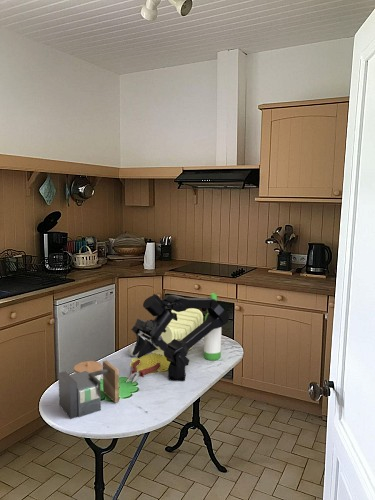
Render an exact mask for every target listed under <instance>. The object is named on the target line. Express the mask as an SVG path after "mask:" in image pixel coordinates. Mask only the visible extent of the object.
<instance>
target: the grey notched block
mask: <svg viewBox="0 0 375 500" xmlns="http://www.w3.org/2000/svg"><path fill="white" fill-rule="evenodd" d="M100 390H101V388H100ZM101 391H102V390H101ZM101 398H102V397H101V396H100V397H99V396H98V384H97V383H96V382H95V381H94V380H93V379H92V378H91V377H89V372H87V371H83V372H79V373H75V374H74V373H72V374H69V373H68V372H67V371H61V372H58V400H59V401H58V402H59V403H58V404H59V406H60V408H61V407H62V408H63V409H62V408H61V409H62V410H63V411H64V413H65V414H66V413H67V414H66V415H67V416H68V418H69V419H70V420H72V419H74V418H82V417H84V416H87V415H91V414H93V413H97V412H100V411H102V403H101V402H102V401H101V400H102V399H101Z"/></svg>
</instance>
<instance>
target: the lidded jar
mask: <svg viewBox="0 0 375 500" xmlns="http://www.w3.org/2000/svg"><path fill="white" fill-rule="evenodd" d="M100 370H103V363H101V362H98V361H95V360H88V361H87V360H85V361H82V362H78V363H77V364H75V365H74V367H73V374H75V373H79V372H83V371H87V372H89V373H93V372H97V371H100ZM102 376H103V374H101V375H97V376H95V377H96V378H97V379H98V380H99V381H100V382H101V379H102Z"/></svg>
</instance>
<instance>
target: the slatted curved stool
mask: <svg viewBox="0 0 375 500" xmlns="http://www.w3.org/2000/svg"><path fill="white" fill-rule="evenodd" d="M170 311H171V312H172V313H176V314H177V321H176V320H173V319H172V320H171V322H170V323H169V324H168V326H167V327H166V328H165V330H166V332H165V333H164V332H162V334H161V335H160V336H161V339H162V340H163V341H164V342H166V343H167V344H169V343H170V342H171V341H172V340H174V339H176V340H178V341H180V340H182V339H183V338H184V337H186V336H187V335H188V334H189V333H191V332H192V331H193V330H194V329H196V328H197V327H198V326H199V325H201V324H202V323H203V322H204V315H203V312H202V311H201V310H200V309H199V308H190V309H187V310H185V311H181V312H176V311H173V310H170ZM157 348H158V350H154V351H152V352H151V353H152V354H154V353H156V354H155V355H159V354H160V356H163V355H164V351H162V350H161V349H160V347H159V346H158V347H157ZM193 348H194V346H192V347H191V348H190V349H189V350H188V352H189V351H190V350H192V349H193Z"/></svg>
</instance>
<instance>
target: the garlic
mask: <svg viewBox="0 0 375 500" xmlns="http://www.w3.org/2000/svg"><path fill="white" fill-rule="evenodd" d="M135 345H136V344H132V346H130V347H128V350H127V352H128V355H129V356H131V357H132V358H134V357H135V358H136V357H137V355H138V354H139V352H138V353H137V354H136V355H135V356H134V355H133V351H134V348H135Z"/></svg>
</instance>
